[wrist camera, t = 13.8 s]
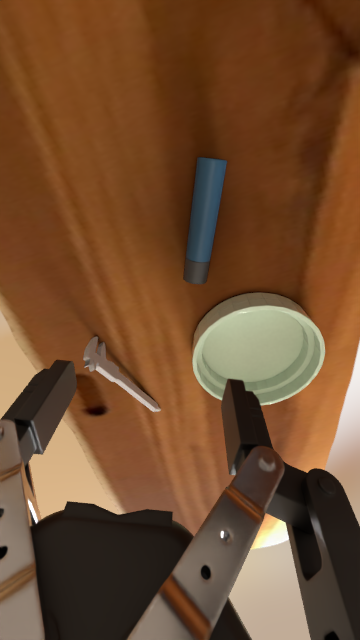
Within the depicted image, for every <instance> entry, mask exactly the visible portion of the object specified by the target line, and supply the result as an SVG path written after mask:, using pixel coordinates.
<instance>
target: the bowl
mask: <svg viewBox="0 0 360 640" xmlns="http://www.w3.org/2000/svg"><path fill="white" fill-rule="evenodd" d="M324 355H325V346H324V339H323V337H322V335H321V332H320V330H319V329H318V327H317V326H316V325H315V324H314V322H313V321H312V320H311V318H310V317H309V316H308V315H307V313H306V312H305V311H304V310H303V309H302V308H301V307H300V306H299V305H298V304H296V303H295V302H293V301H292V300H290V299H288V298H286V297H283V296H280V295H277V294H270V293H262V292H259V293H248V294H243V295H239V296H236V297H232V298H230V299H228V300H226V301H224V302H222V303H220V304H218V305H217V306H216V307H214V308H213V309H212V310H211V311H209V312H208V313H207V314H206V315H205V317H204V318H203V319H202V320H201V322H200V323H199V325H198V327H197V329H196V331H195V333H194V338H193V345H192V362H193V370H194V373H195V376H196V378H197V380H198V382H199V383H200V384H201V386H202V387H203V388H204V389H205V390H206V391H207V392H208V393H210V394H211V395H212V396H214V397H216V398H218V399H220V400H222V398H223V394H224V390H225V387H226V383H227V380H228V378H229V379H239V380H243V381H244V385H245V389H246V391H253V393H254V394H255V395H256V397H257V398H258V399H259V402H260V405H261V406H262V405H267V404H272V403H276V402H279V401H282V400H285V399H287V398H289V397H291V396H293V395H295V394H297V393H298V392H300V391H301V390H302V389H303V388H305V387H306V386H307V385H308V384H310V382H311V381H312V380H313V379H314V378H315V377H316V375H317V374H318V372H319V370H320V368H321V366H322V364H323V360H324Z"/></svg>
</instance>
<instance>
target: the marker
mask: <svg viewBox="0 0 360 640" xmlns="http://www.w3.org/2000/svg"><path fill="white" fill-rule="evenodd" d="M226 165H227V161H226V160H220V159H212V158H203V157H198V160H197V168H196V176H195V185H194V193H193V201H192V210H191V218H190V226H189V235H188V243H187V252H186V260H185V268H184V277H183V279H184V280H185V281H186V282H189V283H192V284H203V283H205V282H206V281H207V275H208V270H209V264H210V258H211V252H212V246H213V240H214V235H215V229H216V223H217V217H218V211H219V205H220V200H221V194H222V188H223V182H224V176H225V170H226Z"/></svg>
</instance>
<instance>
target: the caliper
mask: <svg viewBox="0 0 360 640" xmlns="http://www.w3.org/2000/svg"><path fill="white" fill-rule="evenodd" d="M97 341H98V337H94V338H92V339H91V340H90V342H89V343H88V345H87V347H86V349H85V353H84V357H83V359H84V360H85V361H86V362H85V366H84V367H87V366H89V369H90V372H91V371H93V370H95V369H96V370H97V371H98V372H100V373H101V374H102V375H104V376H105V377H106V378H108V379H109V380H110V381H112V382H114V381H115V382H116V383H117V384H118V385H120V386H121V387H122V388H124V389H125V390H126V391H127V392H129V393H130V394H131V395H132V396H134V397H135V398H136V399H138V400H139V401H140V402H141V403H143V404H144V405H145V406H146V407H148V408H149V409H150V410H152V411H153V412H154V411H156V412H158V411H160V410H161V408H159V407H158V404H157V403H156V402H155V401H154V400H153V399H151V398H150V397H149V396H148V395H146V394H145V393H144V392H143V391H142V390H140V389H139V388H138V387H137V386H136V385H134V384H133V383H132V382H131V381H130V380H128V379H127V378H126V377H125V376H124V375H122V374H121V373H120V372H119V367H118V366H116V365H115V364H114V363H113V362H111V361H108V360H107V359H106V350H105V343H104V342H103V343H101V344H99V347H98V350H97V353H95V352H96V346H97Z"/></svg>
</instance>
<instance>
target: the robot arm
mask: <svg viewBox="0 0 360 640" xmlns="http://www.w3.org/2000/svg"><path fill="white" fill-rule="evenodd" d="M76 386H77V382H76V375H75V369H74V363H73V362H72V361H65V360H56V361H55V362H54V363H53V365H52V366H51V367H50V369H43V370H42V371H40V372H39V373H38V374H36V375H35V376H34V377H33V378H32V380H31V381H30V382H29V384H28V386H26V387H25V389H24V390H23V392H22V393H21V394H20V395H19V396H18V398H17V399H16V400H15V402H14V403H13V404H12V405H11V407H10V408H9V409H8V411H7V412H6V413H5V414H4V416H3V417H2V418H1V419H0V640H252V639H251V637H250V635H249V634H248V632H247V630H246V628H245V626H244V624H243V622H242V621H241V619H240V617H239V615H238V613H237V612H236V610H235V608H234V606H233V604H232V603H231V601H230V599H229V597H228V596H229V594H230V592H231V589H232V587H233V585H234V583H235V581H236V578H237V576H238V574H239V572H240V570H241V568H242V566H243V563H244V561H245V559H246V557H247V555H248V553H249V550H250V548H251V546H252V544H253V542H254V539H255V537H256V535H257V533H258V531H259V529H260V526H261V524H262V522H263V519H264V515H265V513H267V514H269V515H271V516H273V517H276V518H278V519H280V520H282V521H284V522H286V526H287V531H288V535H289V540H290V544H291V549H292V554H293V559H294V563H295V568H296V573H297V577H298V582H299V587H300V591H301V596H302V600H303V605H304V610H305V615H306V619H307V624H308V629H309V633H310V637H311V640H360V526H359V524H358V521H357V519H356V517H355V514H354V512H353V510H352V507H351V505H350V502H349V500H348V498H347V495H346V493H345V491H344V489H343V487H342V485H341V483H340V482H339V481H338V480H337V479H336V478H335V477H334V476H333V475H332V474H330V473H329V472H327V471H325V470H322V469H317V468H315V469H311V470H310V471H309V472H308V473H306V472H304V471H301V470H299V469H297V468H294V467H292V466H290V465H288V464H286V463H285V462H284V461H283V460H282V459H281V457H280V456H279V454H278V453H277V452H275V451H274V449H273V447H272V444H271V440H270V437H269V433H268V430H267V426H266V423H265V419H264V416H263V412H262V411H261V405H260V402H259V399H258V398H257V397H256V395H255V394H254V393H253V391H246V389H245V385H244V381H243V380H239V379H229V378H228V380H227V383H226V387H225V390H224V394H223V398H222V405H221V409H222V419H223V427H224V435H225V444H226V452H227V461H228V469H229V474H230V475H235V477H234V479H233V480H232V482H231V483H230V485H229V486H228V487H226V488H225V490H224V491H223V493H222V494H221V496H220V497H219V499H218V500H217V502H216V504H215V505H214V507H213V508H212V510H211V511H210V513H209V515H208V516H207V518H206V519H205V521H204V522H203V524H202V525H201V527H200V529H199V530H198V532H197V533H196V535H195V536H193V535H192V534H191V533H190V532H189V531H188V530H187V529H186V528H185V527H184V526H182V525H181V524H179V523H177V522H175V521H173V520H172V513H173V512H169V511H159V510H149V509H146V510H141V511H136V512H131V513H126V514H121V515H117V514H115V513H112V512H110V511H108V510H106V509H103V508H101V507H99V506H97V505H94V504H88V503H78V502H67V504H66V506H65V509H64V510H62V511H59V512H56V513H53V514H51V515H49V516H46V517H45V518H43V519H41V516H40V512H39V509H38V505H37V501H36V495H35V490H34V485H33V480H32V474H31V469H30V464H29V460H30V459H31V457H32V455H33V454H43V453H44V451H45V449H46V447H47V445H48V443H49V441H50V439H51V437H52V435H53V434H54V432H55V430H56V428H57V426H58V424H59V422H60V421H61V419H62V417H63V415H64V413H65V411H66V409H67V407H68V406H69V404H70V402H71V400H72V398H73V396H74V394H75V391H76Z"/></svg>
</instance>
